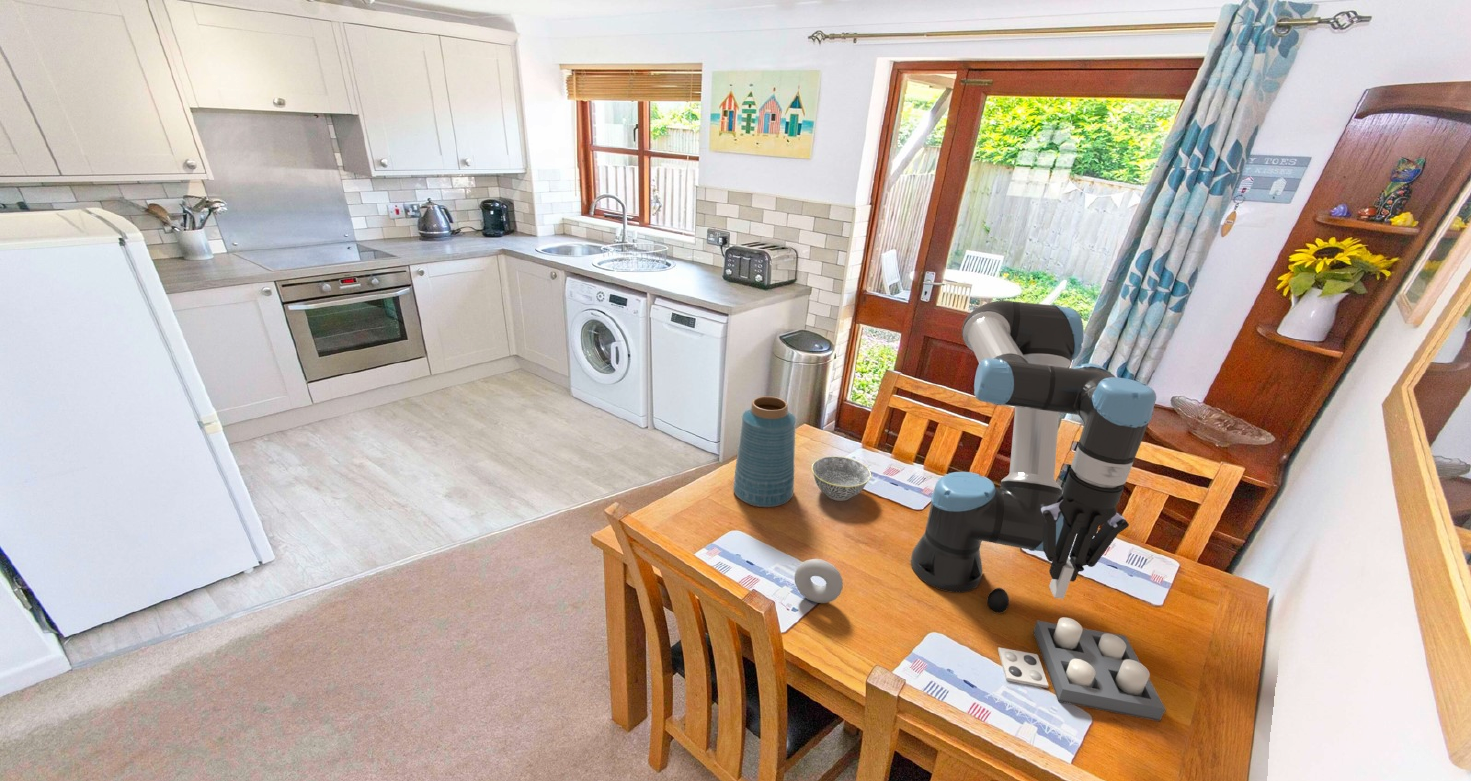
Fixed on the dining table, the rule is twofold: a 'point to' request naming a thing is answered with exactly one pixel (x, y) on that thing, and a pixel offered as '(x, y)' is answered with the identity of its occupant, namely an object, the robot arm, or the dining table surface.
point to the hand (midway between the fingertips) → (1056, 592)
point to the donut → (824, 571)
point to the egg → (998, 600)
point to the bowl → (840, 477)
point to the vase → (766, 454)
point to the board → (1106, 669)
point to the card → (1022, 667)
